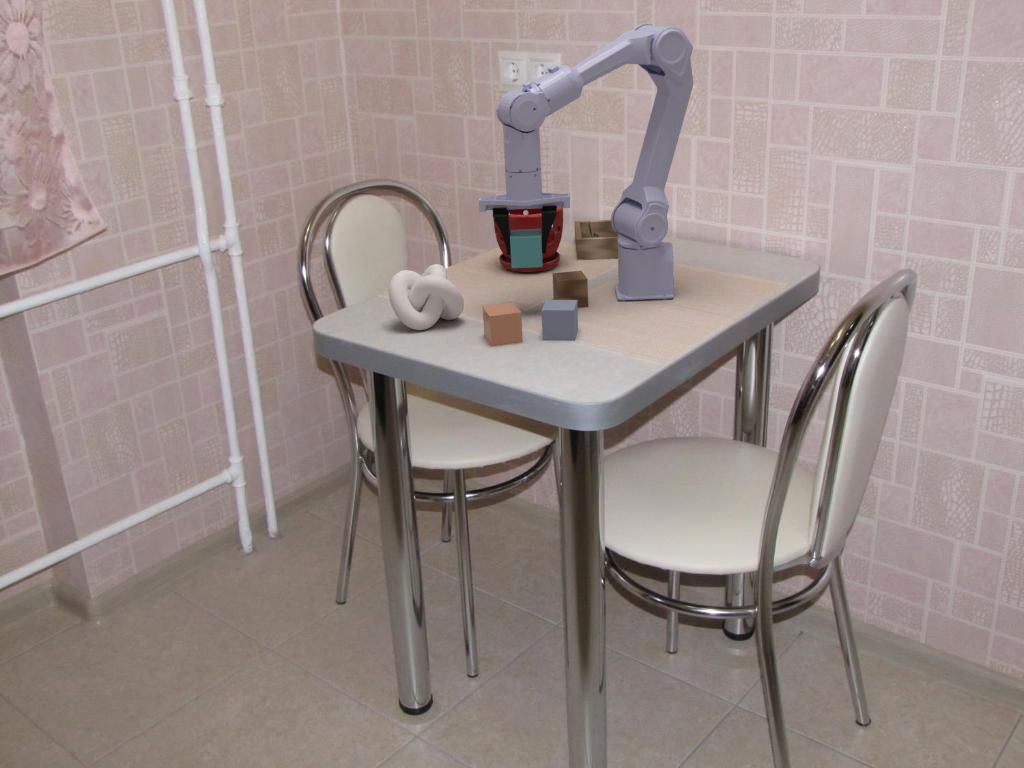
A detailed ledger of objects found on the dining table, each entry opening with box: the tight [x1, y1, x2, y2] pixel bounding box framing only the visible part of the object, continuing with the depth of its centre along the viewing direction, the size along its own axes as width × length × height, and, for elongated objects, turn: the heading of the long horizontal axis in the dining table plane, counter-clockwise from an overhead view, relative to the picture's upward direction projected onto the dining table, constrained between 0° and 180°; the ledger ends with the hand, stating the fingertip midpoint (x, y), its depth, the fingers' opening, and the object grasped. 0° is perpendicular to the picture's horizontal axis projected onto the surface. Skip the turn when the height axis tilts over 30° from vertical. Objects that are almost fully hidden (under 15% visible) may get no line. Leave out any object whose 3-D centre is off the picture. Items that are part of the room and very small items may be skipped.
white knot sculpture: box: [388, 263, 465, 331], centre depth 173 cm, size 11×12×9 cm
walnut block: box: [552, 270, 589, 309], centre depth 180 cm, size 5×5×5 cm
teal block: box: [510, 229, 542, 268], centre depth 173 cm, size 5×5×5 cm
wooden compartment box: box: [574, 219, 618, 260], centre depth 210 cm, size 14×14×4 cm
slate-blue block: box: [541, 299, 579, 341], centre depth 166 cm, size 5×5×5 cm
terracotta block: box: [482, 302, 524, 347], centre depth 165 cm, size 5×5×5 cm
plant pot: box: [492, 207, 564, 273], centre depth 200 cm, size 13×13×12 cm
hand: (526, 252), depth 173 cm, fingers closed on teal block, 5 cm apart
